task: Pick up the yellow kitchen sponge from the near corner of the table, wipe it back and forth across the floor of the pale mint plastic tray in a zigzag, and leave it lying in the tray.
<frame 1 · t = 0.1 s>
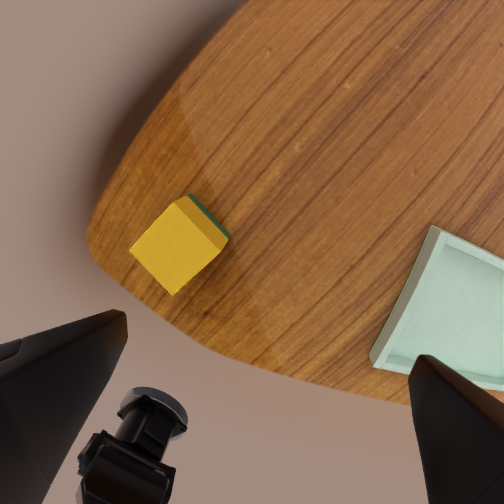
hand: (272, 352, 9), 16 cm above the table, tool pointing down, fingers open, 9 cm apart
sponge: (188, 235, 25), on the table
tray: (478, 320, 25), on the table
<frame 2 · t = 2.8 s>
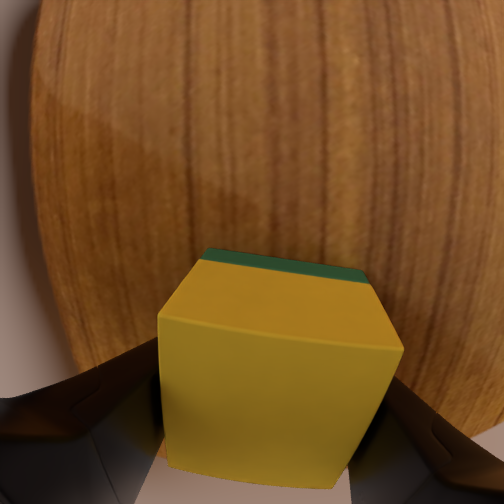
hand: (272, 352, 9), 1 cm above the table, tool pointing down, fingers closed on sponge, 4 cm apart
sponge: (273, 333, 10), on the table, touching gripper
when the fingers open (1 cm above the table, at t = 9.6 s): sponge stays where it is, resting on tray.
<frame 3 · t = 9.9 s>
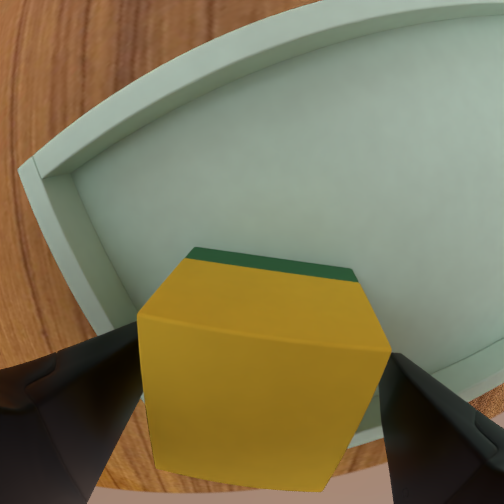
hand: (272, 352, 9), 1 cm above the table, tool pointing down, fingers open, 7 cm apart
sponge: (262, 333, 10), resting on tray
tray: (415, 222, 9), on the table
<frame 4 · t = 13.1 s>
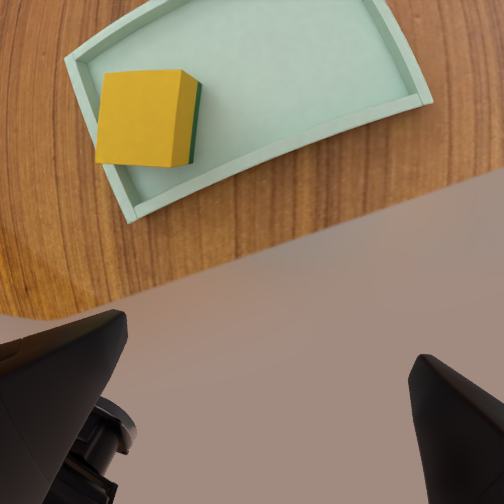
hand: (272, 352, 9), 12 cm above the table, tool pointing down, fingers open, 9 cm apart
sponge: (162, 121, 18), resting on tray
tray: (237, 64, 17), on the table
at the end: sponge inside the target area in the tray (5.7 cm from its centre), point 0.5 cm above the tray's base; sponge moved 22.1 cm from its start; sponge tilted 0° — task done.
